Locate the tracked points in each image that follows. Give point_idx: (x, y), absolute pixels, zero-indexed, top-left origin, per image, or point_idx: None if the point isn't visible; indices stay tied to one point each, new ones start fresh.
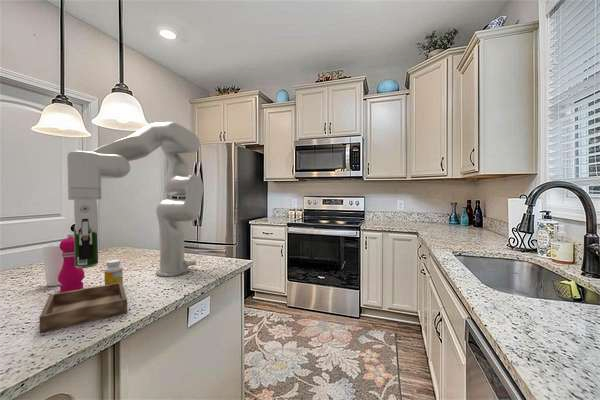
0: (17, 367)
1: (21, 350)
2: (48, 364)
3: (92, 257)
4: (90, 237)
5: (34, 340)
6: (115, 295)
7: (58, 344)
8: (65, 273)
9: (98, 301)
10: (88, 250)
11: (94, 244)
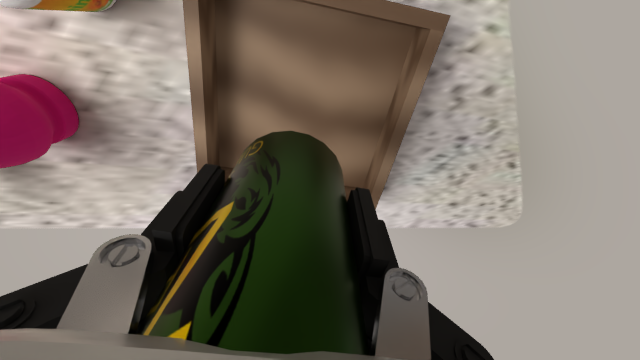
0: (476, 218)
1: (419, 214)
2: (515, 191)
3: (367, 193)
4: (424, 352)
5: (394, 200)
6: (238, 4)
7: (454, 175)
8: (12, 155)
9: (268, 71)
10: (388, 249)
11: (345, 241)
